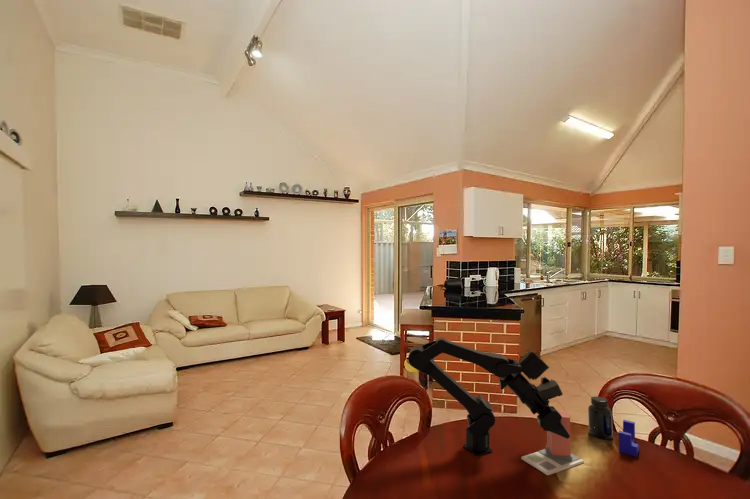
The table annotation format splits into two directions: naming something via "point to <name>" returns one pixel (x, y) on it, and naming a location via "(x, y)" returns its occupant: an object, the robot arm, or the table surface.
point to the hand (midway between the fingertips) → (563, 430)
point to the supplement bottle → (600, 418)
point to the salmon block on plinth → (560, 441)
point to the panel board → (550, 462)
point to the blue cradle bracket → (628, 439)
